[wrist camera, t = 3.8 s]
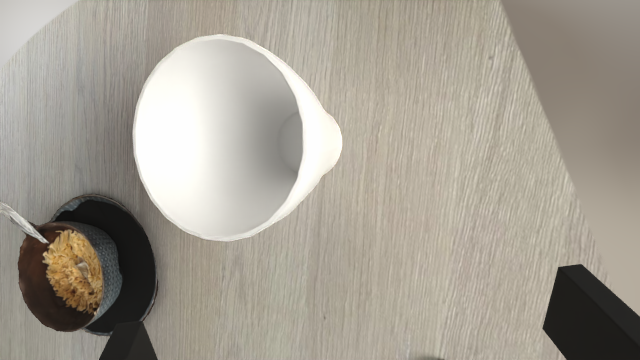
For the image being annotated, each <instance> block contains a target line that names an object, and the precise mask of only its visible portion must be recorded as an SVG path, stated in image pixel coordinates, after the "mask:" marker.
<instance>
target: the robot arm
mask: <svg viewBox="0 0 640 360" xmlns="http://www.w3.org/2000/svg"><path fill="white" fill-rule="evenodd" d="M543 330H544V331H545V332H546V334H547V335H548V336H549V338H550V339H551V340H552V341H553V343H554V344H555V345H556V346H557V348H558V349H559V350H560V352H561V353H562V354H563V355H564V357H565V358H566V359H567V360H640V316H638V315H637V314H636V313H635V312H634V311H633V310H632V309H631V308H629V307H628V306H627V305H626V304H625V303H624V302H623V301H622V300H621V299H620V298H618V297H617V296H616V295H615V294H614V293H613V292H612V291H611V290H610V289H608V288H607V287H606V286H605V285H604V284H603V283H602V282H601V281H600V280H598V279H597V278H596V277H595V276H594V275H593V274H592V273H591V272H590V271H588V270H587V269H586V268H585V267H584V266H583V265H582V264H578V265H571V266H563V267H558V271H557V275H556V279H555V282H554V286H553V290H552V294H551V298H550V302H549V306H548V309H547V313H546V317H545V321H544V325H543ZM99 360H158V359H157V356H156V354H155V351H154V349H153V346H152V344H151V341H150V339H149V336H148V334H147V331H146V329H145V326H144V324H143V321H134V322H126V323H118V324H116V326H115V328H114V330H113V332H112V334H111V336H110V338H109V340H108V342H107V344H106V346H105V348H104V350H103V352H102V354H101V356H100V358H99Z"/></svg>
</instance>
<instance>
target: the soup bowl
mask: <svg viewBox="0 0 640 360" xmlns="http://www.w3.org/2000/svg"><path fill="white" fill-rule="evenodd" d="M0 212H1V213H2V214H3V215H4V216H6V217H7V218H8V219H9V220H10V221H11V222H12V223H13V224H15V225H16V226H17V227H18V228H20V229H21V230H22V231H23V232H24V233H25V234H26V238H25V239H24V241H23V244H22V246H21V247H20V256H19V261H18V270H19V286H20V290H21V292H22V295H23V299H24V301H25V303H26V304H27V306H28V308H29V309H30V311H31V312H32V313H33V314H34V315H35V317H36V318H37V319H38V320H39V321H40V322H41V323H42V324H43V325H45V326H47V327H50V328H53V329H54V330H56V331H63V332H73V331H77V330H80V329H81V330H84V331H85V332H87V333H91V334H94V335H96V336H107V337H109V336H111V334H112V332H113V330H114V328H115V326H116V324H118V323H126V322H134V321H144V320H145V318H146V316H147V315H149V313H150V311H151V309H152V307H153V305H154V302H155V299H156V296H157V291H158V279H157V272H156V261H155V258H154V254H153V252H152V249H151V245H150V243H149V240H148V237H147V236H146V234H145V232H144V230H143V228H142V227H141V225H140V224H139V222H138V221H137V220H136V218H135V217H134V216H133V215H132V214H131V212H129V211H128V210H127V209H126V208H125V207H124V206H123V205H121V204H120V203H118V202H117V201H115V200H113V199H112V198H108V197H106V196H101V195H97V194H96V195H93V194H89V195H82V196H79V197H76V198H73V199H72V200H70V201H68V202H67V203H65V204H64V205H63V206H61V208H60V209H58V210H57V212H56V213H55V214H54V216H53V218H52V219H51V221H50V222H48V223H45V224H43V225H40V226H38V225H35V224H33V223H31V222H29V221H27V220H25V219H24V218H22V217H21V216H20V215H18V214H17V213H16V212H15V211H14V210H13V209H11V208H10V207H9V206H8V205H7V204H6V203H4V202H2V201H0Z"/></svg>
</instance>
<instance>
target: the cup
mask: <svg viewBox="0 0 640 360" xmlns="http://www.w3.org/2000/svg"><path fill="white" fill-rule="evenodd" d="M132 132H133V150H134V157H135V161H136V165H137V169H138V173H139V176H140V179H141V181H142V183H143V185H144V187H145V189H146V191H147V193H148V195H149V197H150V199H151V201H152V202H153V203H154V204H155V205H156V207H157V208H158V209H159V210H160V211H161V213H162V214H163V215H164V216H165V217H166V218H167V219H168V220H170V221H171V222H172V223H174V224H175V225H176V226H178V227H179V228H180V229H182V230H183V231H184V232H186V233H189V234H192V235H194V236H197V237H199V238H202V239H205V240H211V241H224V242H231V241H235V240H239V239H244V238H248V237H252V236H254V235H255V234H257V233H259V232H260V231H262V230H264V229H266V228H267V227H269V226H271V225H272V224H274V223H276V222H277V221H279V220H280V219H282V218H284V217H285V216H287V215H288V214H290V213H291V212H292V211H293V210H294V209H295V208H296V207H297V206H298V205H299V204H300V203H301V201H302V200H303V199H304V198H305V197H306V196H307V195H308V194H309V193H310V192H311V191H312V190H313V189H314V188H315V187H316V186H317V184H318V182H319V181H320V179H321V177H322V175H324V174H326V173H327V172H329V171H330V170H331V169H332V168H333V167H334V166H335V164H336V163H337V161H338V159H339V157H340V154H341V150H342V135H341V132H340V128H339V126H338V124H337V123H336V121H335V119H334V118H333V117H332V116H331V115H330V114H329V113H327V112H326V111H324V109H323V107H322V105H321V104H320V102H319V100H318V98H317V97H316V95H315V94H314V93H313V91H312V90H311V89H310V88H309V87H308V85H307V84H306V83H305V82H304V80H303V79H302V78H301V77H300V76H299V75H298V74H297V73H296V72H295V71H294V70H292V69H291V68H290V67H289V66H288V65H287V64H286V63H285V62H284V61H282V60H281V59H279V58H278V57H277V56H275V55H274V54H273V53H271V52H270V51H268V50H267V49H265V48H263V47H261V46H259V45H257V44H255V43H254V42H252V41H250V40H248V39H246V38H242V37H237V36H231V35H226V34H215V35H208V36H200V37H197V38H195V39H192V40H190V41H188V42H186V43H184V44H182V45H180V46H177V47H176V48H175V49H174V50H172V51H171V52H170V53H169V54H168V55H167V56H166V57H164V58H163V59H162V60H161V61H160V62H159V63H158V64H157V66H156V67H155V69H154V70H153V71H152V73H151V74H150V76H149V77H148V79H147V80H146V82H145V84H144V86H143V89H142V91H141V94H140V97H139V99H138V102H137V105H136V110H135V116H134V123H133V129H132Z"/></svg>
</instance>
